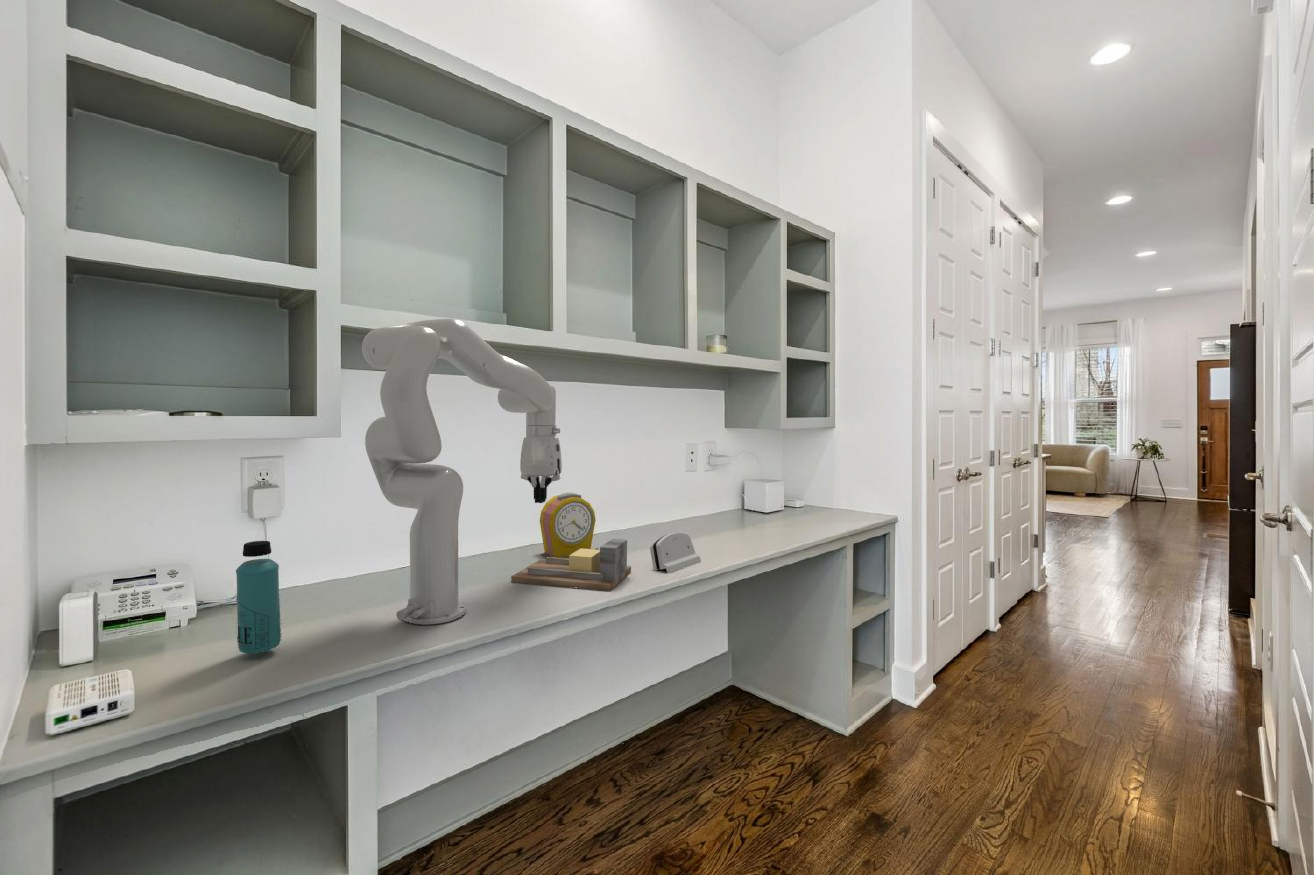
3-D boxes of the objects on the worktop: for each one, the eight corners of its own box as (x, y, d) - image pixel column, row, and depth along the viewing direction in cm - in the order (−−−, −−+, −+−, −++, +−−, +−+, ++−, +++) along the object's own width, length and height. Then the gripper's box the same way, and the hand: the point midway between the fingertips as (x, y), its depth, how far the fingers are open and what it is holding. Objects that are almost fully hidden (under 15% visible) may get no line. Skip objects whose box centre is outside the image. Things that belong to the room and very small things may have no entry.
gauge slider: (591, 576, 150) (591, 557, 150) (569, 575, 151) (569, 555, 151) (607, 564, 162) (607, 546, 162) (586, 562, 164) (586, 544, 163)
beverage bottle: (289, 647, 108) (287, 537, 107) (266, 662, 101) (264, 546, 100) (252, 647, 108) (250, 537, 107) (227, 662, 101) (224, 545, 100)
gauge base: (609, 591, 144) (610, 552, 143) (511, 582, 150) (511, 544, 149) (630, 571, 161) (631, 536, 160) (541, 564, 167) (542, 530, 167)
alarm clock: (550, 559, 173) (550, 496, 172) (539, 553, 180) (539, 492, 179) (596, 553, 181) (596, 492, 180) (584, 547, 188) (584, 489, 187)
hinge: (668, 573, 159) (658, 537, 161) (654, 576, 162) (645, 540, 164) (701, 561, 173) (692, 527, 174) (689, 564, 175) (680, 531, 177)
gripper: (573, 432, 157) (572, 501, 158) (521, 431, 161) (520, 498, 162) (561, 433, 150) (560, 506, 151) (507, 432, 154) (507, 502, 155)
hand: (540, 502), depth 156 cm, fingers closed
